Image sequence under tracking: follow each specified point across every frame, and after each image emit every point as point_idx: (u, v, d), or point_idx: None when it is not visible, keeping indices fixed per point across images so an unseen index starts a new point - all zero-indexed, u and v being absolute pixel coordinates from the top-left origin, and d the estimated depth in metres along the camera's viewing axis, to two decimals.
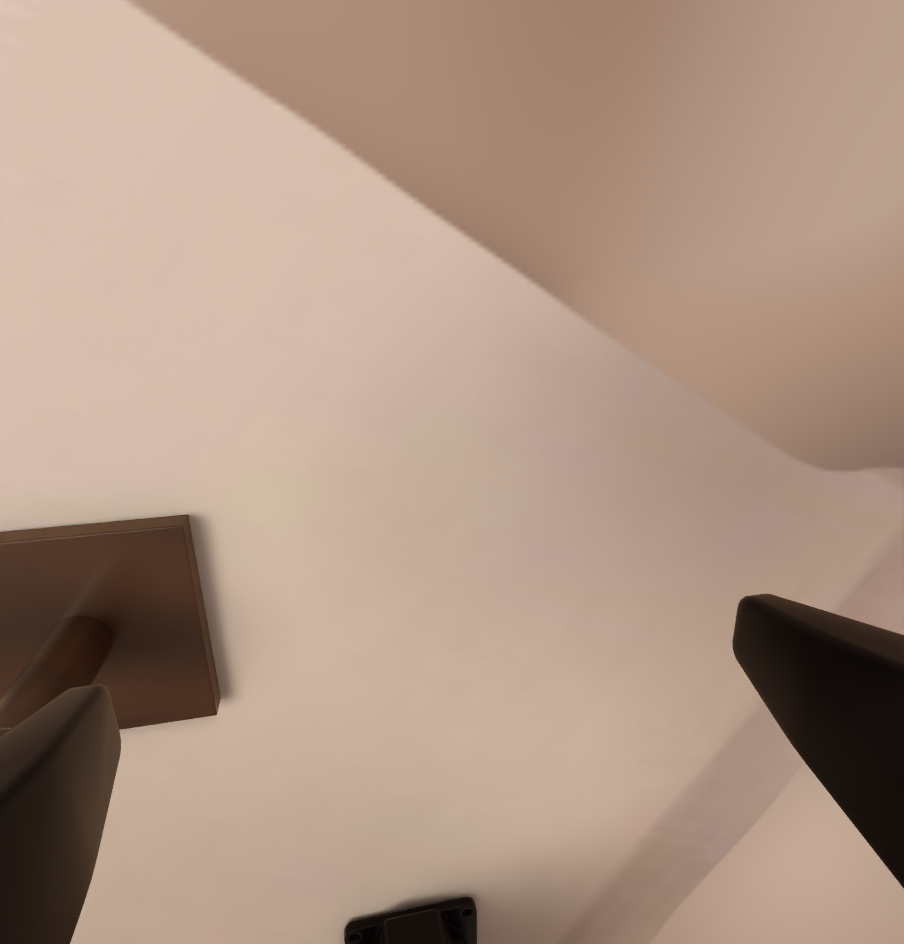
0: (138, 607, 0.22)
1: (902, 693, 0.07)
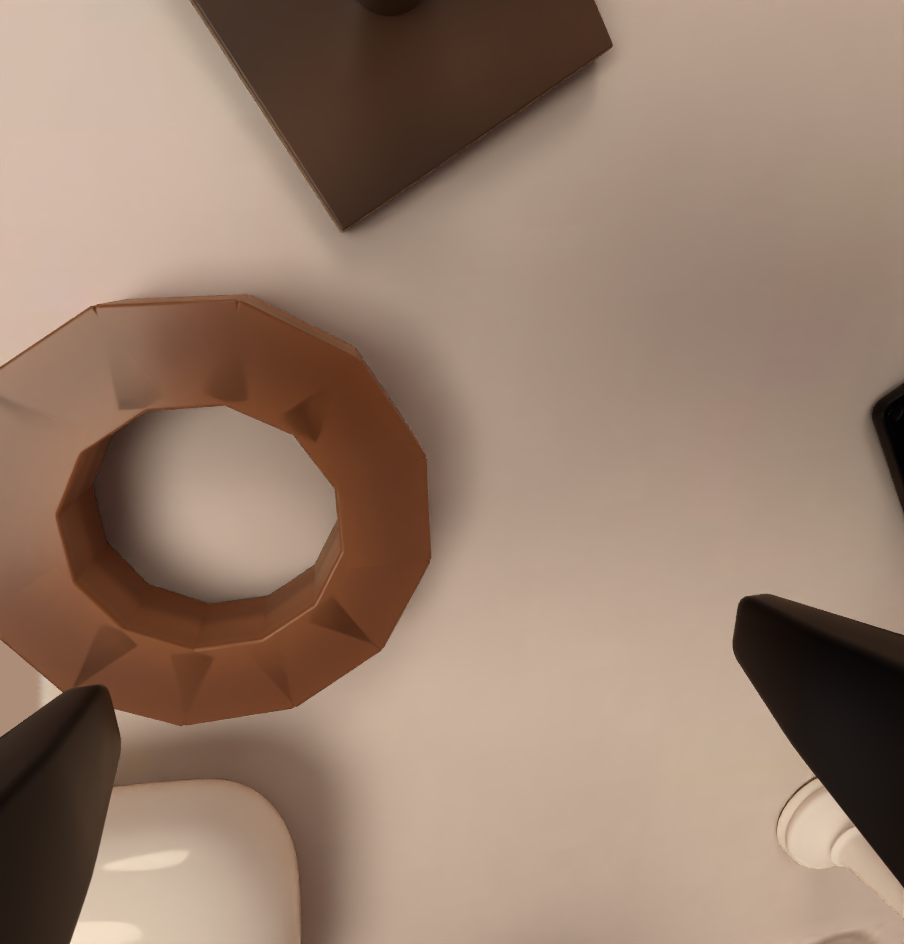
0: None
1: (902, 693, 0.07)
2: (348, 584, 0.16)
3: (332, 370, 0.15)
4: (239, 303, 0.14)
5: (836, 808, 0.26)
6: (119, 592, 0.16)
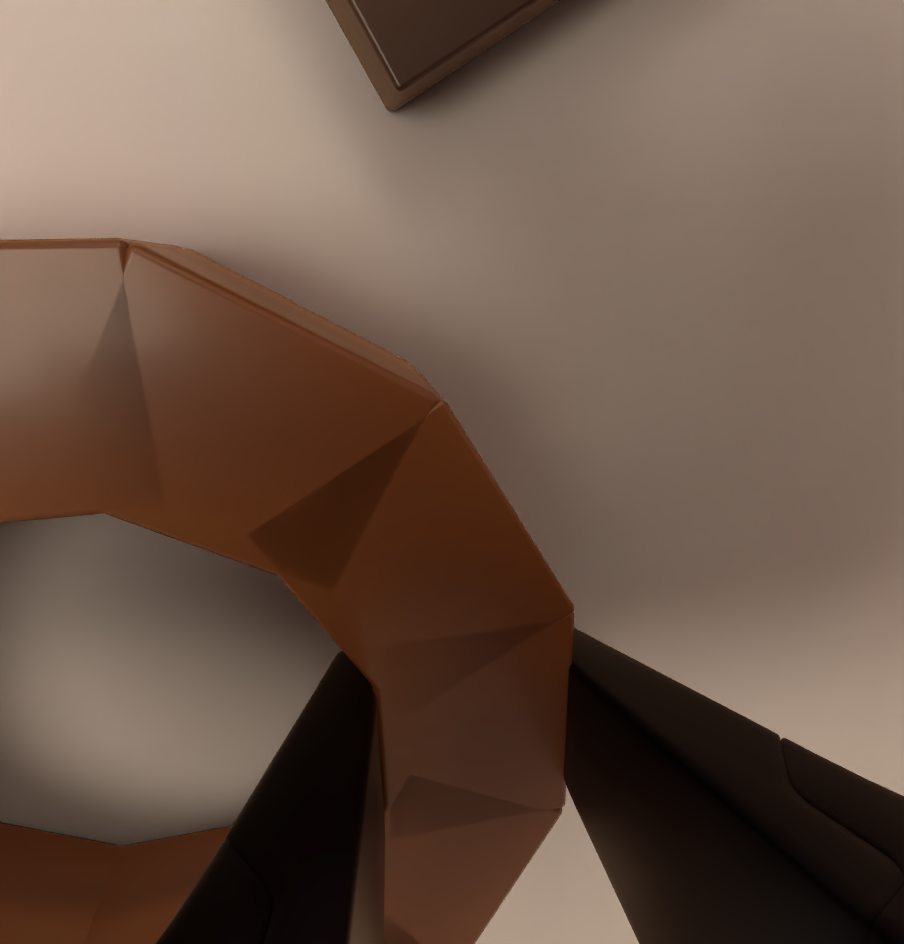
0: None
1: (630, 741, 0.06)
2: (394, 867, 0.08)
3: (375, 426, 0.06)
4: (131, 251, 0.05)
5: None
6: None
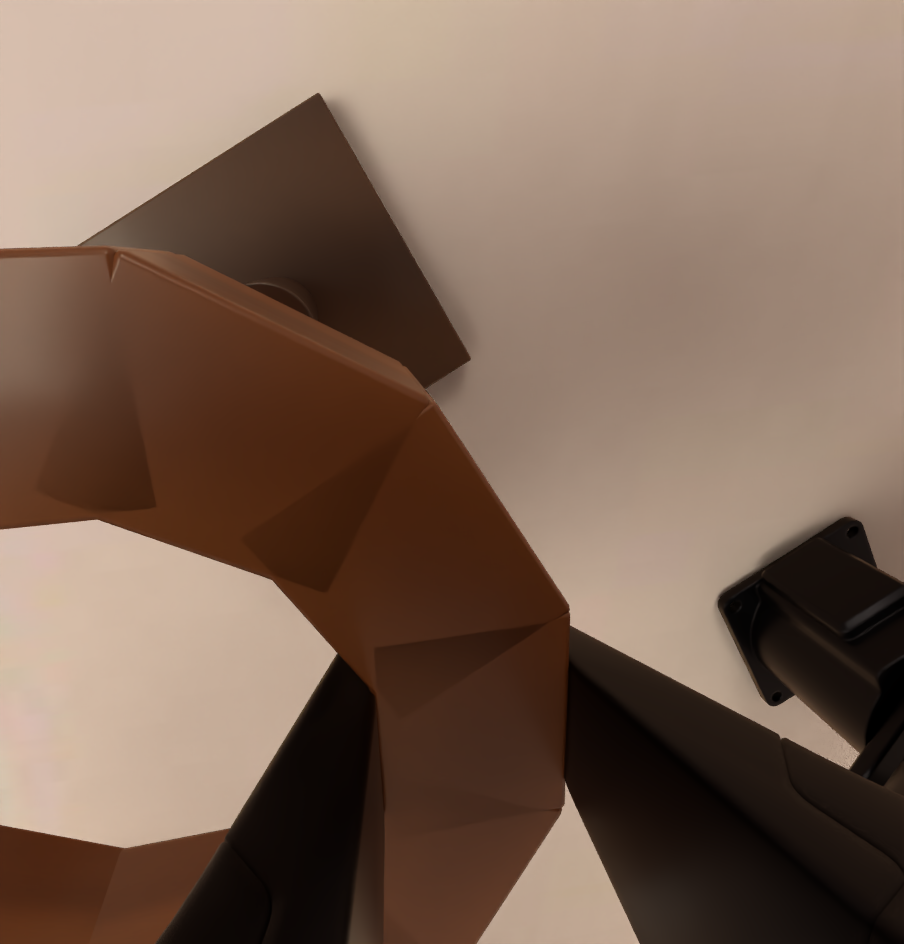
0: (322, 240, 0.17)
1: (630, 741, 0.06)
2: (393, 868, 0.08)
3: (366, 428, 0.06)
4: (118, 258, 0.05)
5: None
6: None
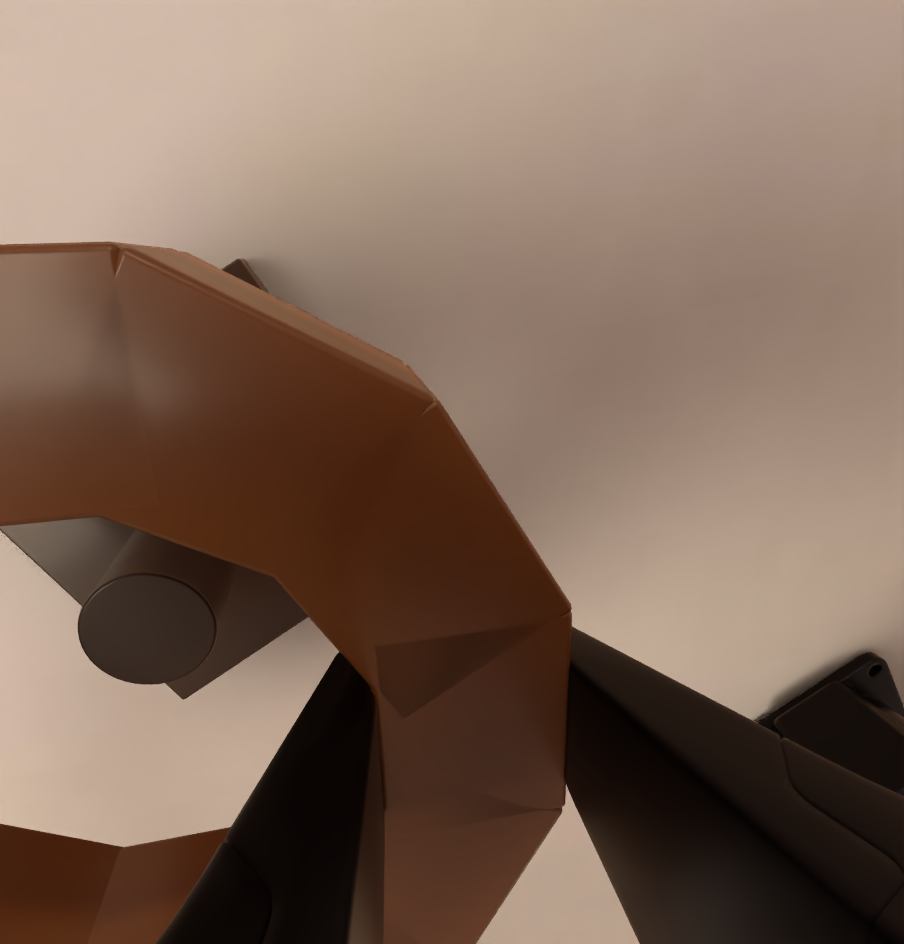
0: None
1: (630, 742, 0.06)
2: (394, 868, 0.08)
3: (369, 426, 0.06)
4: (122, 254, 0.05)
5: None
6: None
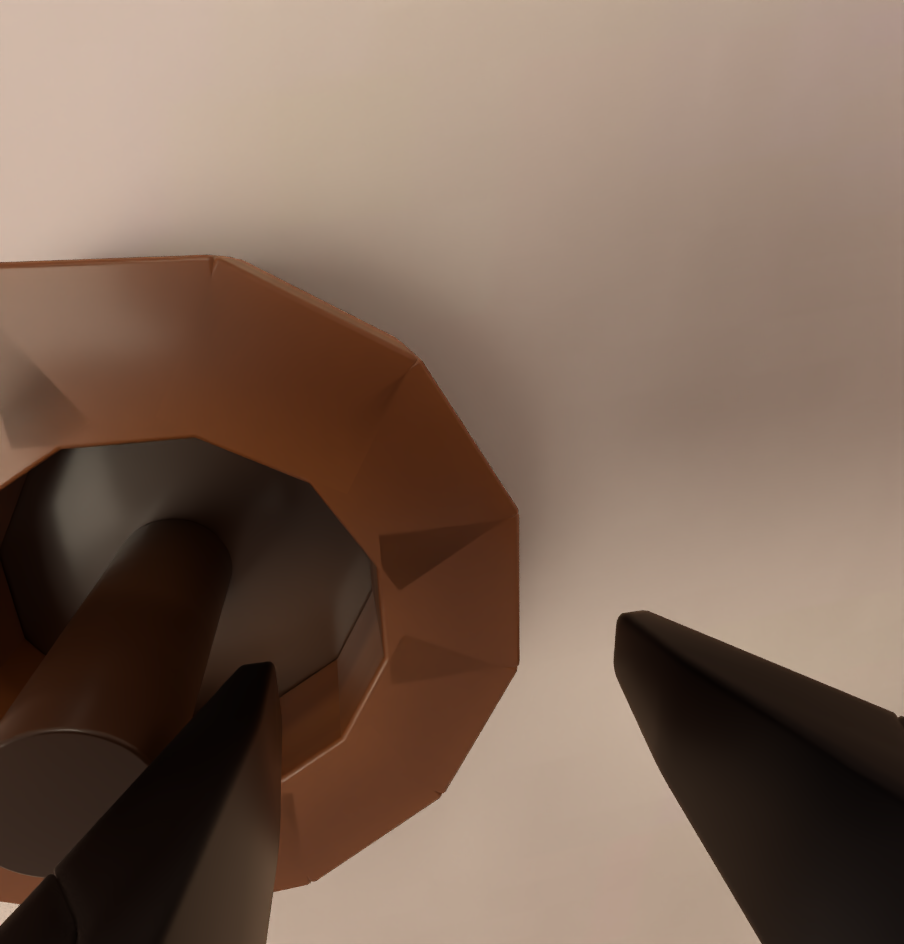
0: (232, 463, 0.11)
1: (743, 722, 0.06)
2: (393, 708, 0.11)
3: (374, 377, 0.09)
4: (216, 262, 0.08)
5: None
6: None
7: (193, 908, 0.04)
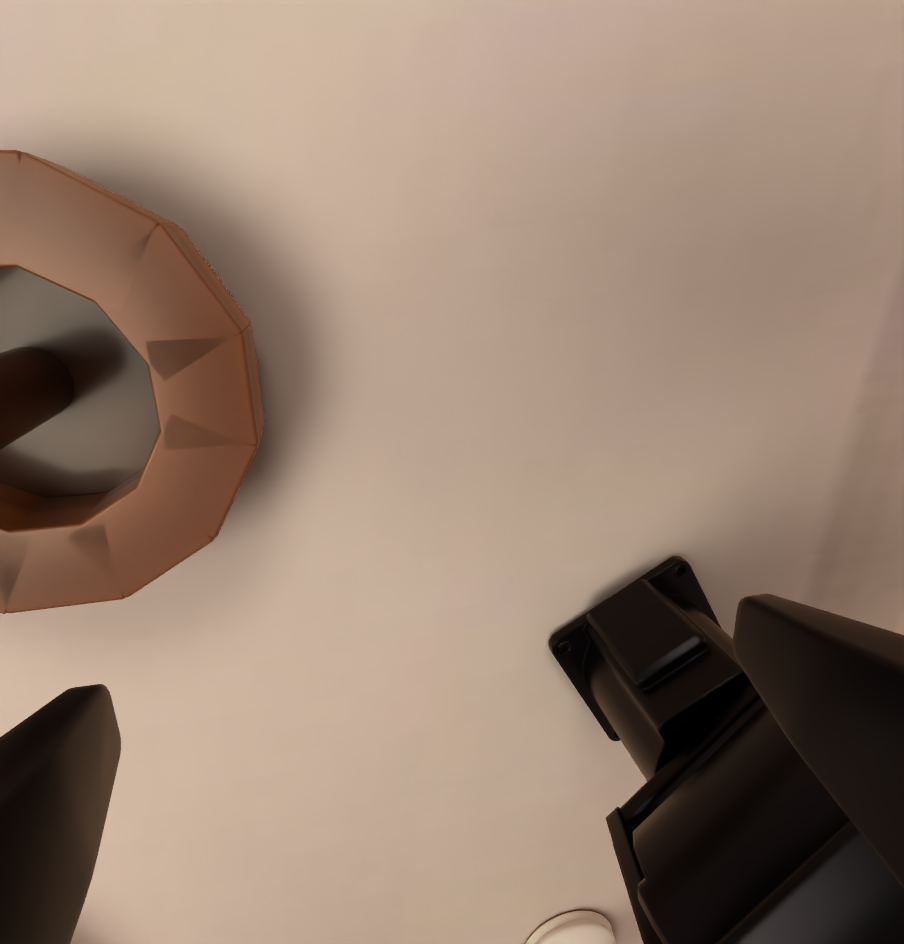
0: (68, 309, 0.17)
1: (902, 693, 0.07)
2: (170, 467, 0.16)
3: (130, 233, 0.14)
4: (21, 155, 0.13)
5: None
6: None
7: None
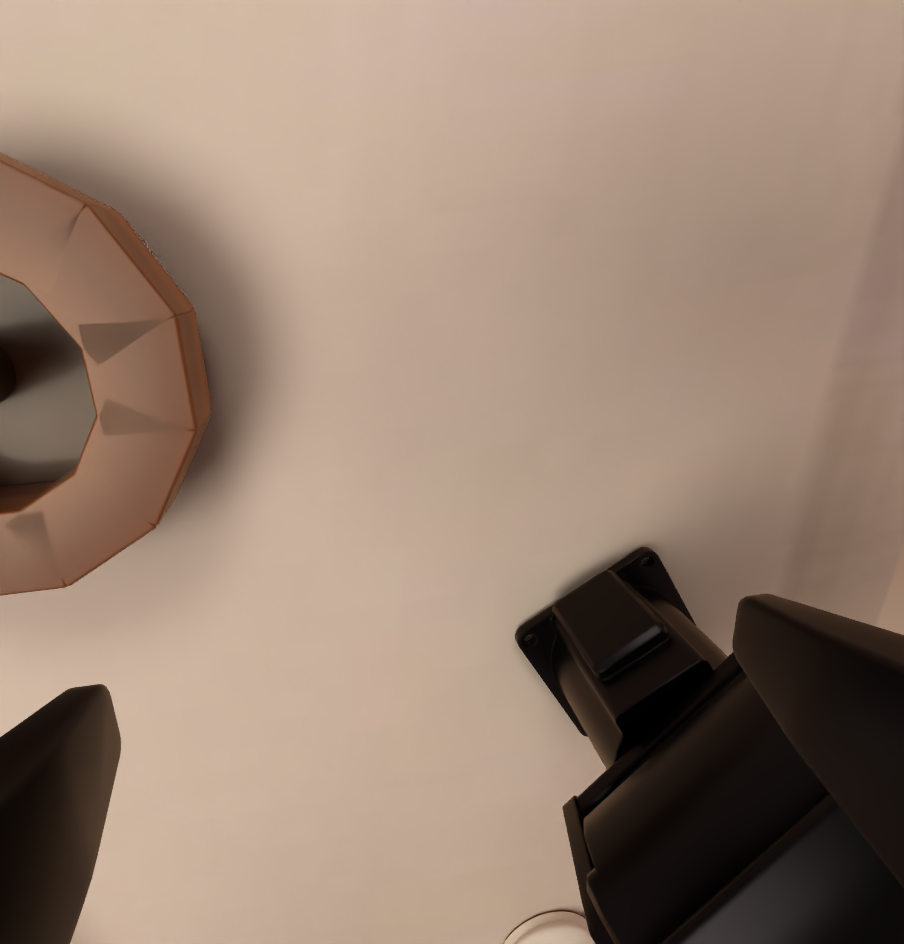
0: (7, 296, 0.16)
1: (902, 693, 0.07)
2: (107, 453, 0.16)
3: (57, 214, 0.14)
4: None
5: None
6: None
7: None
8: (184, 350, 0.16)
